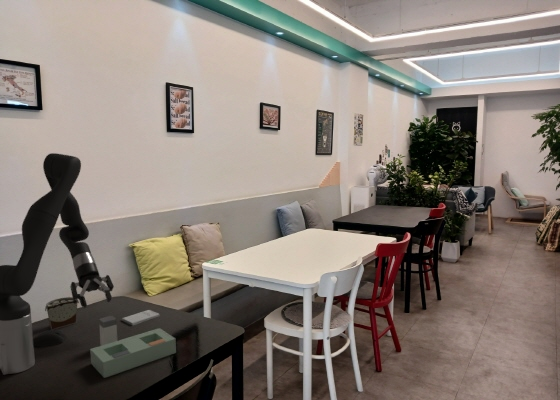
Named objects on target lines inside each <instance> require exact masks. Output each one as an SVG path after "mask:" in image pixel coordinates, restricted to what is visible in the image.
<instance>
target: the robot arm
mask: <svg viewBox="0 0 560 400" xmlns="http://www.w3.org/2000/svg"><path fill="white" fill-rule="evenodd" d="M81 162H82V161H81V159H80V158H79V157H77V156H73V155H69V154H63V153H55V152H54V153H48V154H47V155H46V156H45V158H44V160H43V163H42V165H43V167H42V168H43V173H44V176H45V178H46V181H47V183H48V185H49V188H50V191H48V192H47V193H46V194H44V195H43V196H41V197H40V198H39V199H37V200H36V201H34V203H32V204H31V206H30V207H29V208H28V210H27V213H26V214H25V217H24V219H23V221H22V225H21V236H22V241H23V243H22V244H23V248H22V252H21V255H20V257H19V259H18V261H17V263H16V265H12V264H2V265H0V371H1V373H2V375H4V376H5V375H9V374H10V375H12V374H18V373H21V372H24V371H27V370H29V369H31V368H32V367H33V366H35V364H36V359H35V347H34V345H33V338H34V336H33V334H34V333H33V324H32V323H33V322H32V312H31V310H32V308H31V305H30V303H29V302H27V301H26V300H24V299H23V298H22V297H21V296H24V295H26V294H27V293H29V291H30V290H31V289H32V287H33V285H34V283H35V280H36V277H37V274H38V272H39V268H40V265H41V262H42V258H43V256H44V253H45V250H46V247H47V245H48V242H49V239H50V238H51V235H52V233H53V230H54V229H55V226H56V225H57V221H58V220H59V217H60V221H61V222H62V224H63V225H64V227H61V228H60V229H59V233H58V234H59V235H58V236H59V239H60V240H61V242H62V243H63V244H64V246H65V247H66V248H67V251H69V255H70V256H71V257H70V258H71V260H72V264H73V265H72V266H73V270H74V271H75V275H76V277H77V278H76V279H77V280H78V282H75V281H71V284H70V286H69V287H70V291H71V295H72V297H73V299H78V301H79V304H80V305H81V307H82V308H84V309H85V308H87V306H88V303H87V301H86V298H85V295H86V292H88V293H90V292H93V291H97V290H98V291H99V292H103V293H104V295H105V298H106V302H107V303H111V300H112V299H113V297H112V295H111V292H112V291H113V289H114V288H115V286H114V283H113V281H112V280H111V276H110V275H109V274H106V275H105V276H103V277H102V276H101V275H100V273H99V269H98V267H97V264H96V260H95V259H94V256H93V254H92V252H91V249H90V246H89V244H88V243H87V242H85V240H87V239H88V237H89V235H90V231H89V229H88V227H87V225H86V224H85V222H84V220H83V218H82V214H81V210H80V205H79V203H78V202H79V201H78V200H77V198H75V196H74V195H73V193H72V192H71V191H72V189H73V187H74V186H75V183H76V181H77V180H78V177H79V175H80V172H81V169H82V163H81ZM103 282H104V283H105V284H104V283H103ZM78 287H79V288H81V291H80V292H79V293H78V290H77V289H78Z"/></svg>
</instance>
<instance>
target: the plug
mask: <svg viewBox="0 0 560 400" xmlns="http://www.w3.org/2000/svg"><path fill="white" fill-rule="evenodd" d="M98 323H99V339H100V340H99V342H100V343H99V344H100V346H102V345H105V344H109V343H112V342H115V341H118V332H117V331H118V327H117V318H116V317H115V316H113V315H108V316H105V317H102V318H99V319H98Z"/></svg>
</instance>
